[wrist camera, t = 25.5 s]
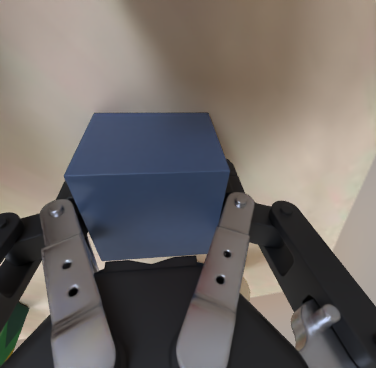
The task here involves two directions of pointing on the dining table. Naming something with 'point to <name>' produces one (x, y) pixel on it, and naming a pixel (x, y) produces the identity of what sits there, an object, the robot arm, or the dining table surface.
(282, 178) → the dining table surface
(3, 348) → the crayon box
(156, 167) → the middle block
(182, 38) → the dining table surface
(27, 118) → the dining table surface
